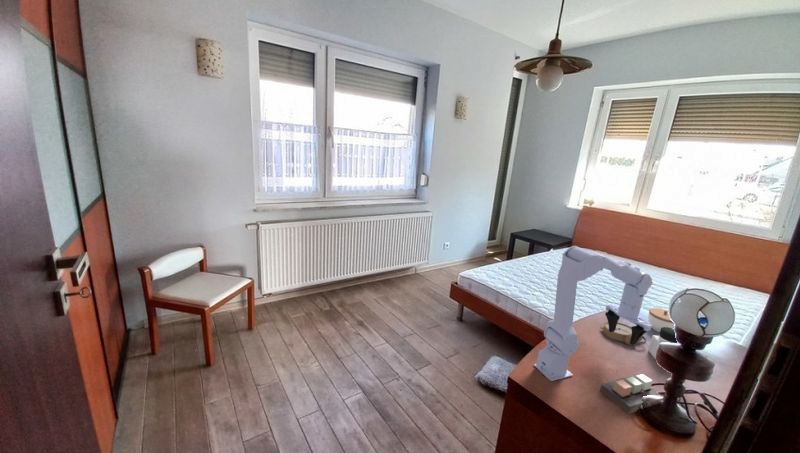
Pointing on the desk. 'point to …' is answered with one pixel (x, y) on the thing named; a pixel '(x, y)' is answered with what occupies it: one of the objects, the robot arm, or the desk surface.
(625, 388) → the peach cube
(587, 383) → the desk surface
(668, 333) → the medicine bottle
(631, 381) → the pale green cube
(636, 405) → the console
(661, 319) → the lidded jar
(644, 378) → the white cube
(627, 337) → the alarm clock
